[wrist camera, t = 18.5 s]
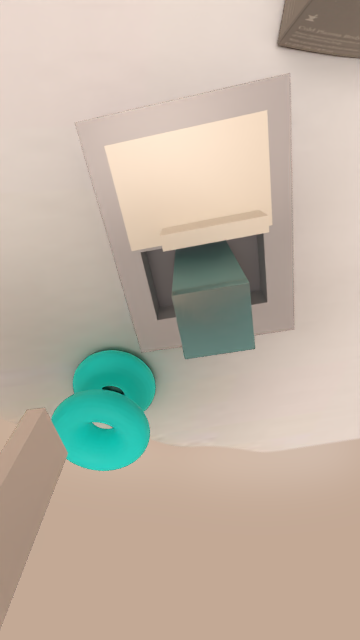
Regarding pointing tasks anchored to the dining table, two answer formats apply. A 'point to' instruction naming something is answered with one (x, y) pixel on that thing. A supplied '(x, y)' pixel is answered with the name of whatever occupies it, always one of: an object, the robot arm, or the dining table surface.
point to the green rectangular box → (211, 301)
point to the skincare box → (322, 26)
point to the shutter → (195, 183)
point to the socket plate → (251, 251)
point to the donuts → (106, 411)
